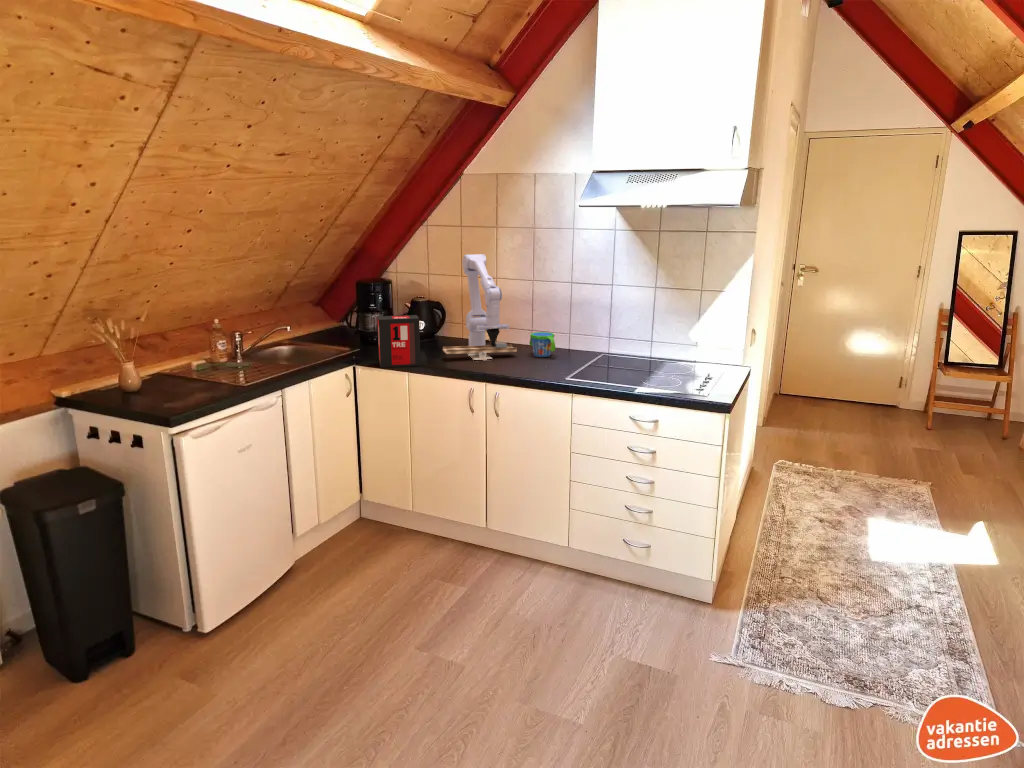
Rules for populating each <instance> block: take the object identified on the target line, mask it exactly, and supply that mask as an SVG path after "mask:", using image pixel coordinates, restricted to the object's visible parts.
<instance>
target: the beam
mask: <svg viewBox="0 0 1024 768" xmlns="http://www.w3.org/2000/svg"><path fill="white" fill-rule="evenodd" d="M442 351H443V352H444V354H446V355H456V354H457V355H459V354H474V353H482V352H484V353H485V352H486V354H487V353H490V354H491V353H517V352H518V348H517V347H513V344H507V348H493V346H491V344H490V345H489V344H487V345H486V344H485V345H484V346H469V345H459V346H457V345H456V346H454V345H453V346H452V345H451V346H442Z"/></svg>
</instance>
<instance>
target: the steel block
mask: <svg viewBox="0 0 1024 768" xmlns="http://www.w3.org/2000/svg"><path fill="white" fill-rule="evenodd" d="M507 345H508V343H506V342H505V341H496V342H495V346H493V348H507Z"/></svg>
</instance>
